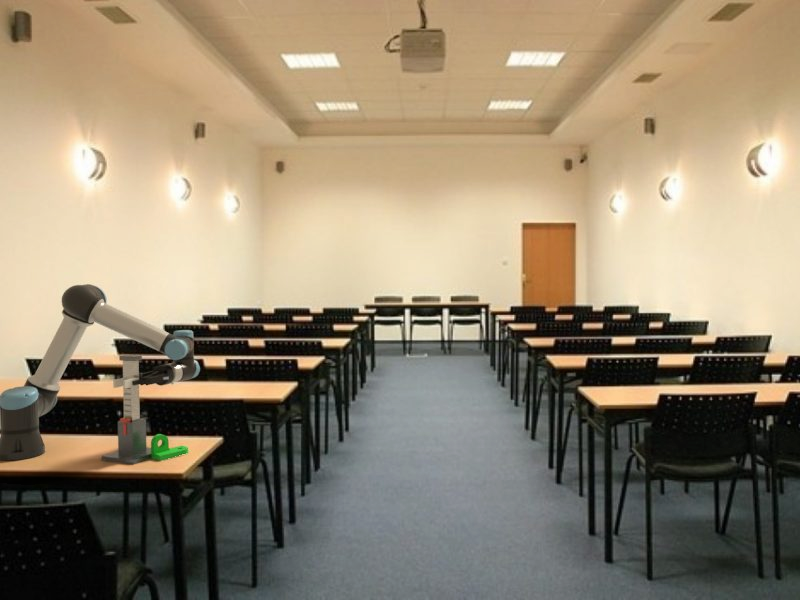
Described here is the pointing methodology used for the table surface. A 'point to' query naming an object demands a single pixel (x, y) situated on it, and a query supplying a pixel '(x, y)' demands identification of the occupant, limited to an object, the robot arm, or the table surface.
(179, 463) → the table surface
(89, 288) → the robot arm
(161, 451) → the mechanical part
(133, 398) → the column
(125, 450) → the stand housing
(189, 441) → the table surface
